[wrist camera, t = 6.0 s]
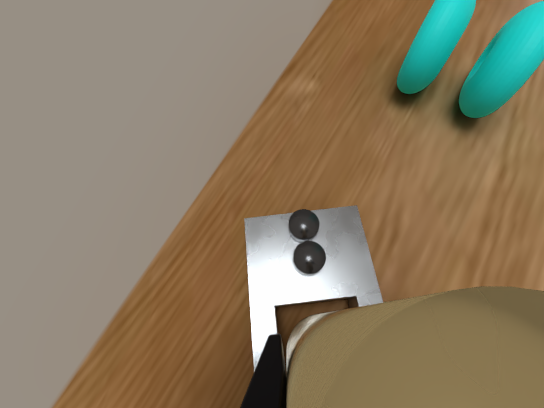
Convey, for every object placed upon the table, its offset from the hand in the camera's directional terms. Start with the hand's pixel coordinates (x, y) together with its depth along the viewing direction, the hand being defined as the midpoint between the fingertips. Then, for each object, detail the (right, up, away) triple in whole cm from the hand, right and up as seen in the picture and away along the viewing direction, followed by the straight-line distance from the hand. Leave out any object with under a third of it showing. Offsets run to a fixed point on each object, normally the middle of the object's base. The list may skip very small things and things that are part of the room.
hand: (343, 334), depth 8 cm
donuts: (+17, +17, +21) cm, 33 cm away
